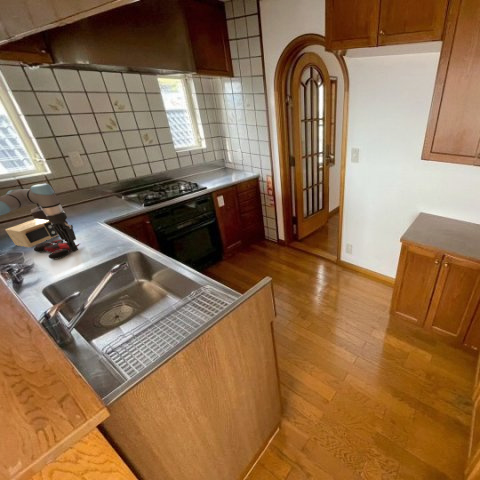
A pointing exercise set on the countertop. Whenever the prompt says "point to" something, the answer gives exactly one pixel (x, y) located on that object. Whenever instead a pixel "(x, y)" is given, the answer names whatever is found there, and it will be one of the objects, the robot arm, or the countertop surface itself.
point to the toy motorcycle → (54, 248)
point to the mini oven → (31, 232)
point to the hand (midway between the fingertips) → (75, 250)
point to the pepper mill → (38, 213)
